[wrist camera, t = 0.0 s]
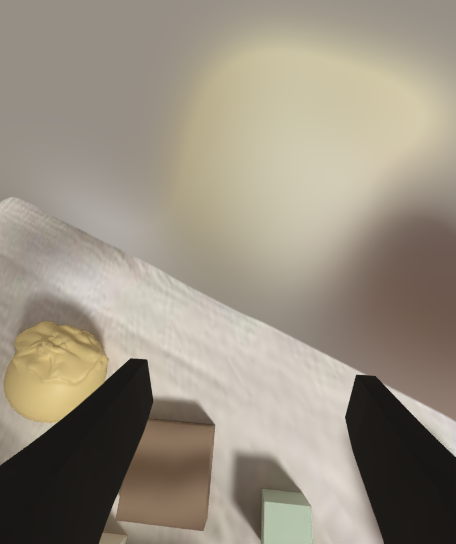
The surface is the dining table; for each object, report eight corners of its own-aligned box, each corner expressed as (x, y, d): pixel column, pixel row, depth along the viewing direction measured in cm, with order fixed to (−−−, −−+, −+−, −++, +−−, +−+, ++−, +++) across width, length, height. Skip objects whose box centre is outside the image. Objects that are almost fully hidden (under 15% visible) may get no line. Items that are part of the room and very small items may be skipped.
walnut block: (207, 517, 34) (203, 531, 30) (128, 507, 35) (115, 520, 31) (215, 424, 38) (212, 427, 34) (144, 418, 39) (134, 419, 35)
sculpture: (133, 355, 42) (99, 341, 33) (83, 435, 38) (27, 447, 28) (76, 322, 45) (30, 301, 35) (24, 394, 41) (-46, 392, 31)
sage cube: (304, 545, 32) (313, 569, 28) (260, 540, 32) (263, 563, 28) (302, 492, 34) (311, 506, 30) (261, 488, 35) (264, 501, 30)
